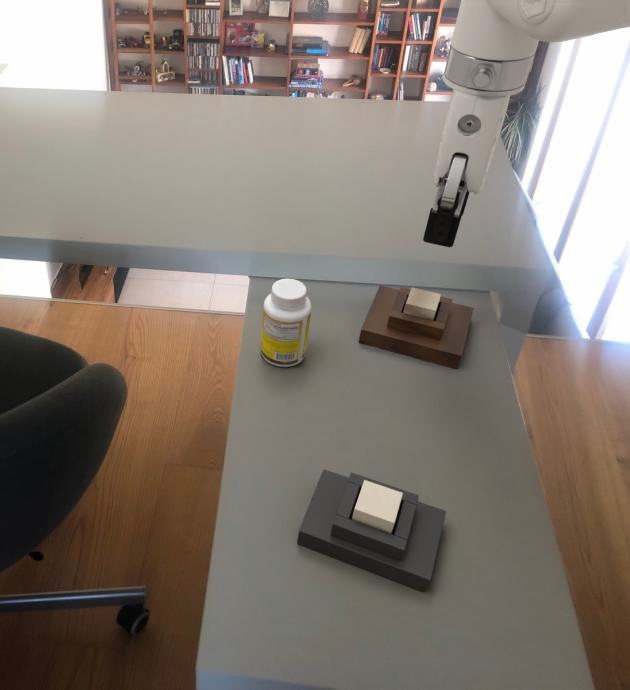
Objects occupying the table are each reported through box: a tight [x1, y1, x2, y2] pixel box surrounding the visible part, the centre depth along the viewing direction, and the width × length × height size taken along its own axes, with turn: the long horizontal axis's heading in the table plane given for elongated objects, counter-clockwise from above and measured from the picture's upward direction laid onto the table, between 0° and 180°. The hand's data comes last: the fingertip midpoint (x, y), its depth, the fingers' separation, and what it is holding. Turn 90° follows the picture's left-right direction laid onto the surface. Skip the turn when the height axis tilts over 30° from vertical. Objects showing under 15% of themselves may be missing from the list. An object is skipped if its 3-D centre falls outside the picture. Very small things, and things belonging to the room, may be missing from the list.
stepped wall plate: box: [296, 468, 447, 593], centre depth 65 cm, size 12×8×4 cm, turn 64°
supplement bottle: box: [260, 278, 312, 368], centre depth 83 cm, size 6×6×10 cm
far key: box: [404, 287, 442, 321], centre depth 86 cm, size 4×4×2 cm
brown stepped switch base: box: [358, 285, 475, 370], centre depth 87 cm, size 12×10×4 cm
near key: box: [352, 480, 403, 534], centre depth 64 cm, size 4×4×2 cm
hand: (443, 226), depth 78 cm, fingers open, 6 cm apart
